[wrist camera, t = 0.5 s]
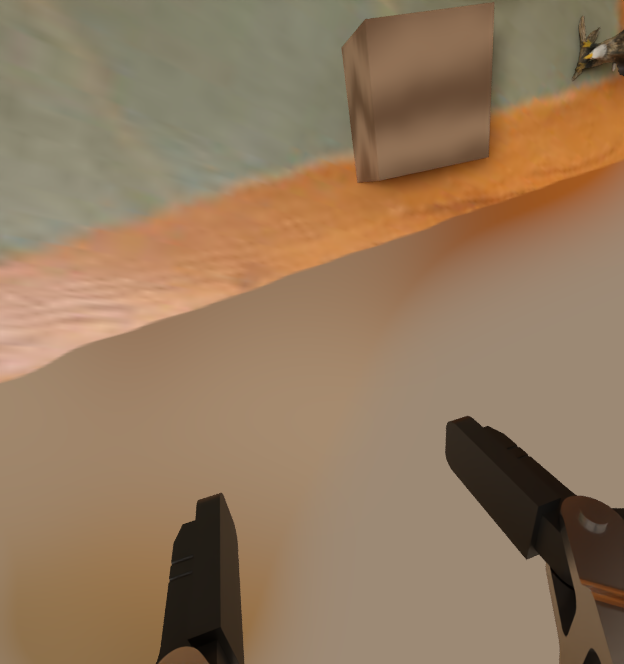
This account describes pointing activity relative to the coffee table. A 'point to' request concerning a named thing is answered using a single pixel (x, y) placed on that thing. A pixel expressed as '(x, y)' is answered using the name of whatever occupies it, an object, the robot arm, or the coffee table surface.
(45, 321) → the coffee table surface
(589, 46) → the eagle figurine
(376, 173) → the walnut block
